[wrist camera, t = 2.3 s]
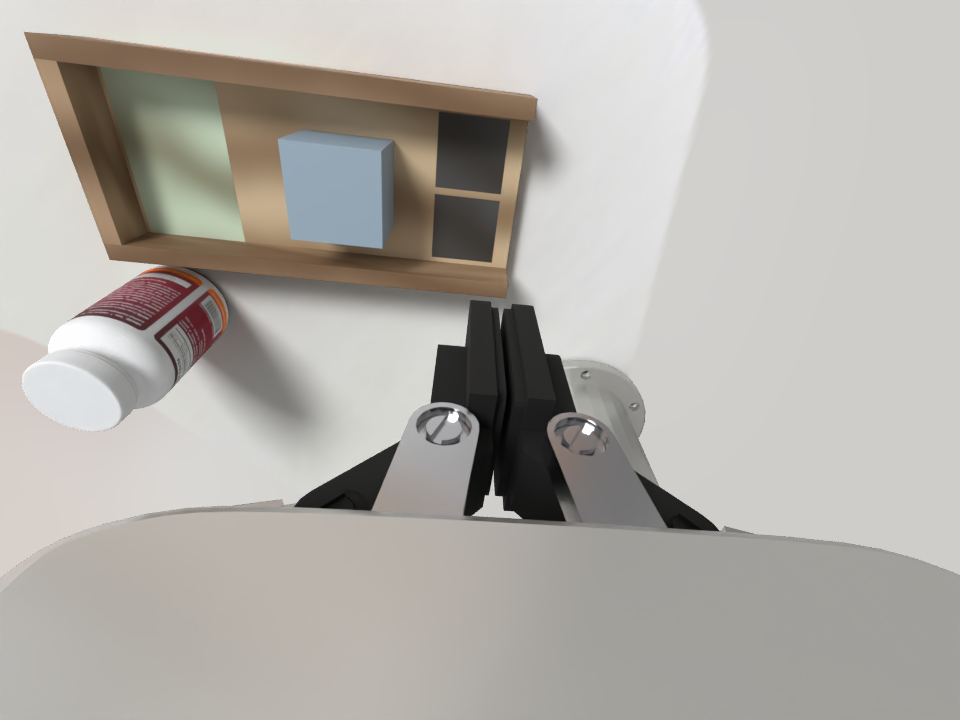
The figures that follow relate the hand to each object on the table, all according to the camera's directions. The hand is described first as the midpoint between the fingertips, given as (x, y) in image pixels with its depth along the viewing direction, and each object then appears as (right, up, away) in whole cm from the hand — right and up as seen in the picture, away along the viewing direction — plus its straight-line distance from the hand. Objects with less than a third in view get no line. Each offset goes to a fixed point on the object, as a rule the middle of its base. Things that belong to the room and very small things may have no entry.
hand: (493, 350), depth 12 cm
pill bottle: (-22, +4, +20) cm, 30 cm away
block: (-8, +10, +14) cm, 19 cm away
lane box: (-10, +11, +15) cm, 21 cm away
